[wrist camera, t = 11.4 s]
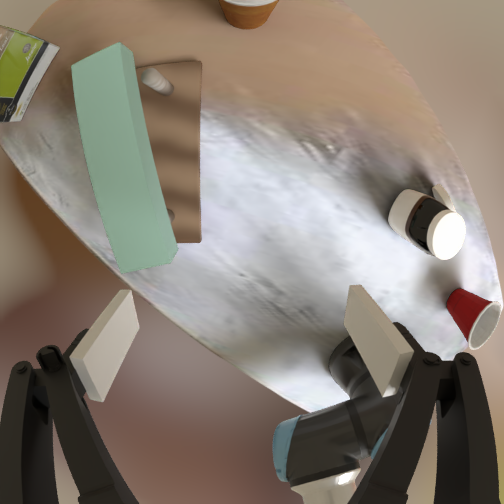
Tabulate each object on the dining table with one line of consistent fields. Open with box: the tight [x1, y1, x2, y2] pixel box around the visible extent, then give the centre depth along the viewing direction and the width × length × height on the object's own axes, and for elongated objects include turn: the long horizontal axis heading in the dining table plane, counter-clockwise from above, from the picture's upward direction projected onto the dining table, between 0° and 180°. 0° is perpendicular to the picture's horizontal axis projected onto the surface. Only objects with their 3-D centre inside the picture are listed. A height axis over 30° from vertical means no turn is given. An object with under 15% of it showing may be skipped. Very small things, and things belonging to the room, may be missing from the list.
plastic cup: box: [447, 289, 501, 350], centre depth 43 cm, size 11×11×12 cm
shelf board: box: [71, 42, 178, 274], centre depth 25 cm, size 24×6×4 cm, turn 12°
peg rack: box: [107, 61, 202, 243], centre depth 31 cm, size 26×14×10 cm, turn 179°
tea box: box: [0, 25, 60, 122], centre depth 21 cm, size 15×10×15 cm
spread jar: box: [388, 184, 465, 260], centre depth 35 cm, size 12×11×12 cm
